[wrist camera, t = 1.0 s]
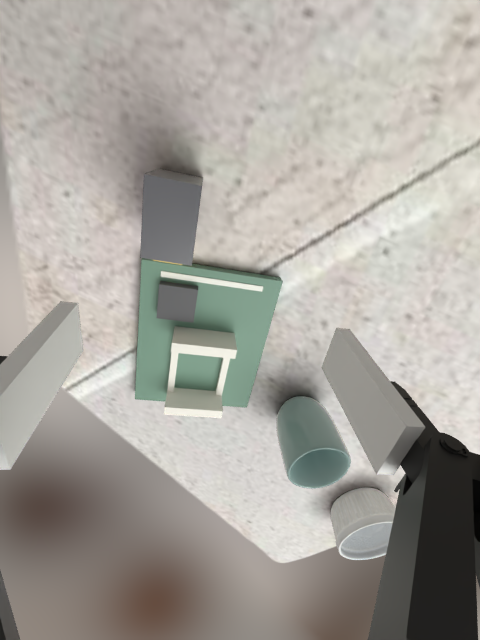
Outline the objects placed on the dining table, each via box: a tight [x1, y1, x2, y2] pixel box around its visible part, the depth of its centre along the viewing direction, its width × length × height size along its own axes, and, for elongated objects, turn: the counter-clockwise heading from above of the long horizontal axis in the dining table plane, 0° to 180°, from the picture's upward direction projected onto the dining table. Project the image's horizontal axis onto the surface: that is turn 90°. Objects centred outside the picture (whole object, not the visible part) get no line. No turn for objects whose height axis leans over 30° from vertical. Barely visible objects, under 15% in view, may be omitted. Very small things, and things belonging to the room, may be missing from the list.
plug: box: [140, 169, 203, 266], centre depth 26 cm, size 7×4×8 cm, turn 169°
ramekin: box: [331, 488, 396, 560], centre depth 56 cm, size 13×13×7 cm
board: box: [135, 258, 283, 418], centre depth 35 cm, size 19×15×5 cm
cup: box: [276, 396, 351, 488], centre depth 40 cm, size 8×8×10 cm
